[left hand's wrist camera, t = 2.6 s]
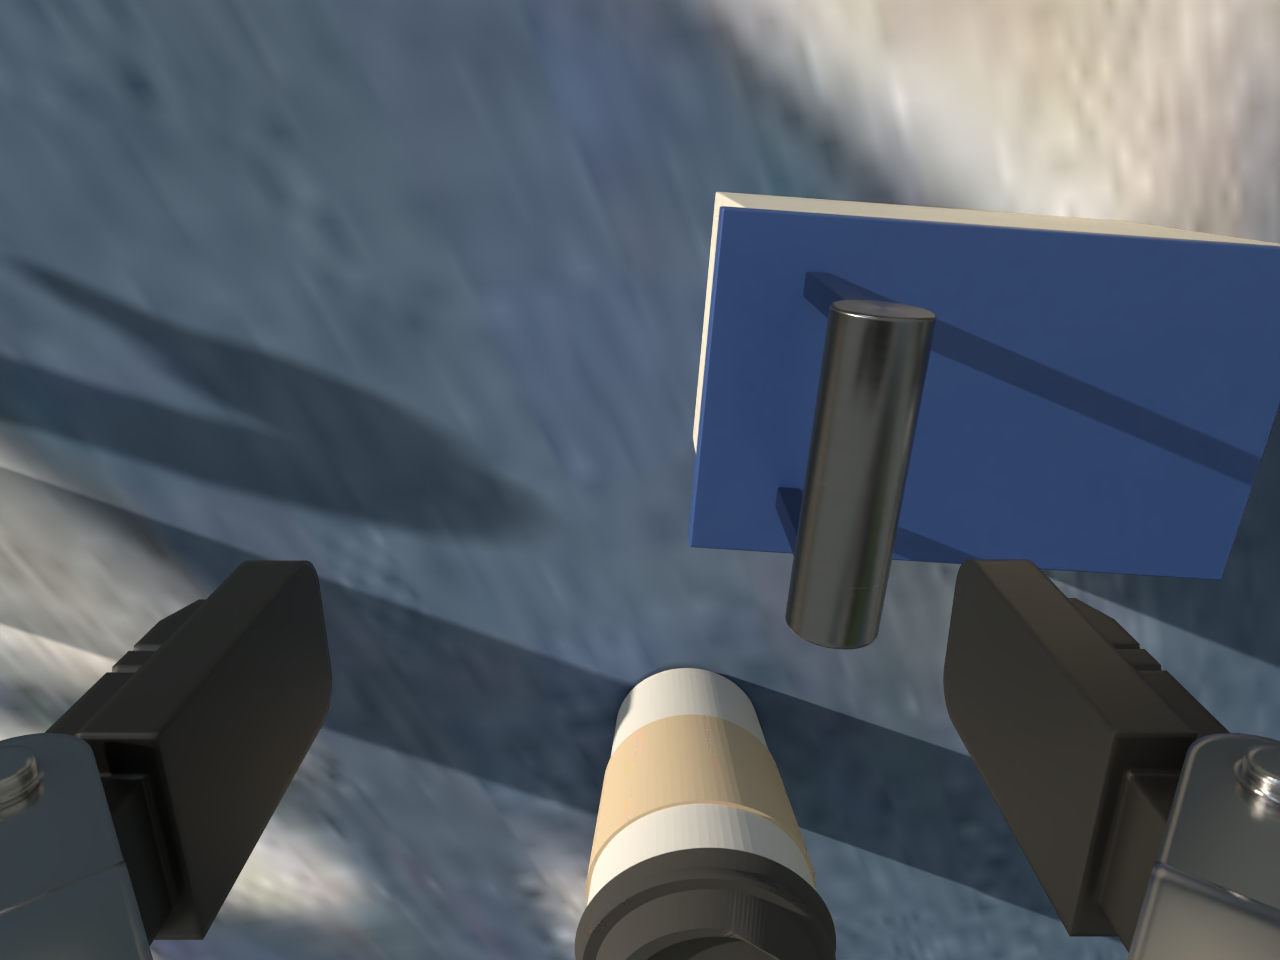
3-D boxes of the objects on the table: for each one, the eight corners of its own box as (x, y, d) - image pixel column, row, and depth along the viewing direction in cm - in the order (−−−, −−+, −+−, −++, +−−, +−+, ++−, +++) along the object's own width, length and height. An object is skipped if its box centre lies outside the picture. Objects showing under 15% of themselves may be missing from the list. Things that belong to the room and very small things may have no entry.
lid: (688, 534, 28) (708, 695, 20) (719, 205, 24) (759, 233, 16) (1203, 567, 28) (1433, 737, 20) (1306, 247, 25) (1637, 295, 17)
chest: (692, 438, 37) (710, 535, 28) (715, 191, 34) (744, 207, 24) (1062, 462, 38) (1202, 566, 28) (1122, 221, 34) (1305, 247, 25)
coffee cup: (690, 834, 44) (714, 1150, 30) (553, 734, 42) (511, 1024, 28) (820, 723, 42) (911, 1010, 28) (683, 611, 40) (706, 860, 26)
